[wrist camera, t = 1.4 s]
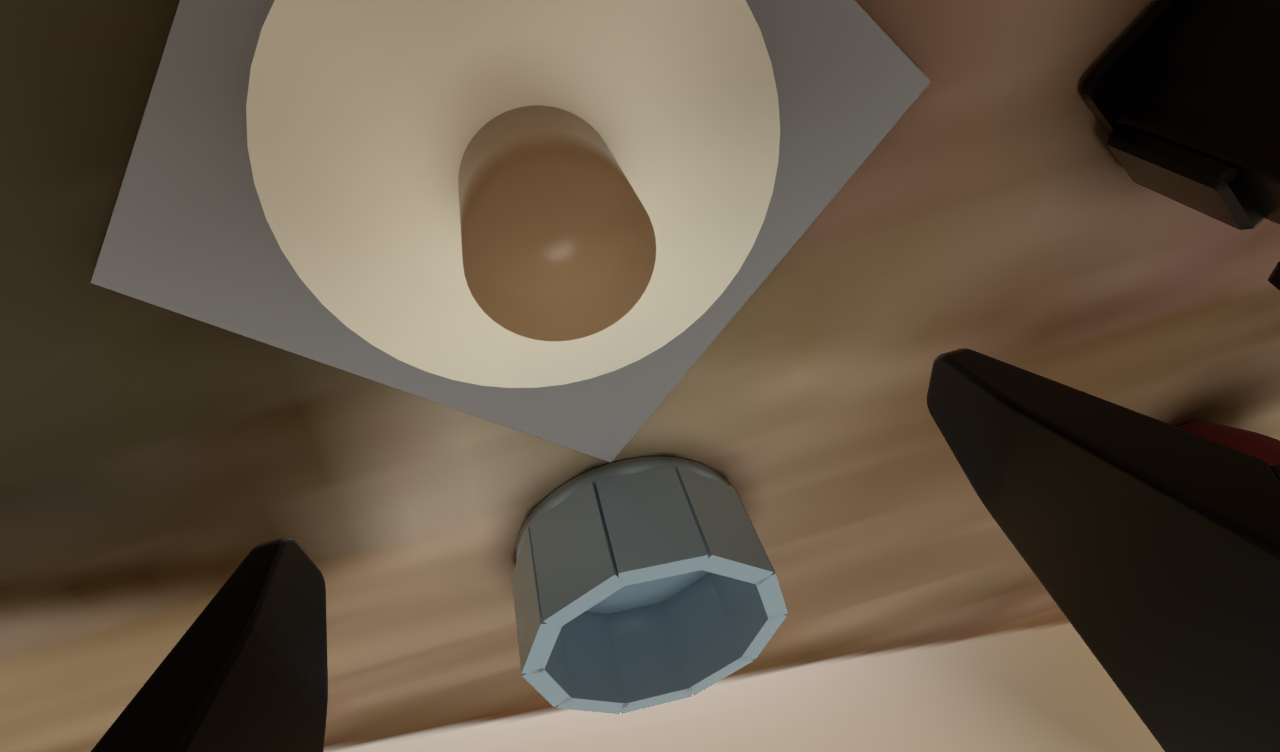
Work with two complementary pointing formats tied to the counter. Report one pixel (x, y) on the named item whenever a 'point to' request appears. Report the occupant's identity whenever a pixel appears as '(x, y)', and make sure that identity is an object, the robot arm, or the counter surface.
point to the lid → (514, 173)
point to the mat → (297, 322)
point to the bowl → (640, 586)
